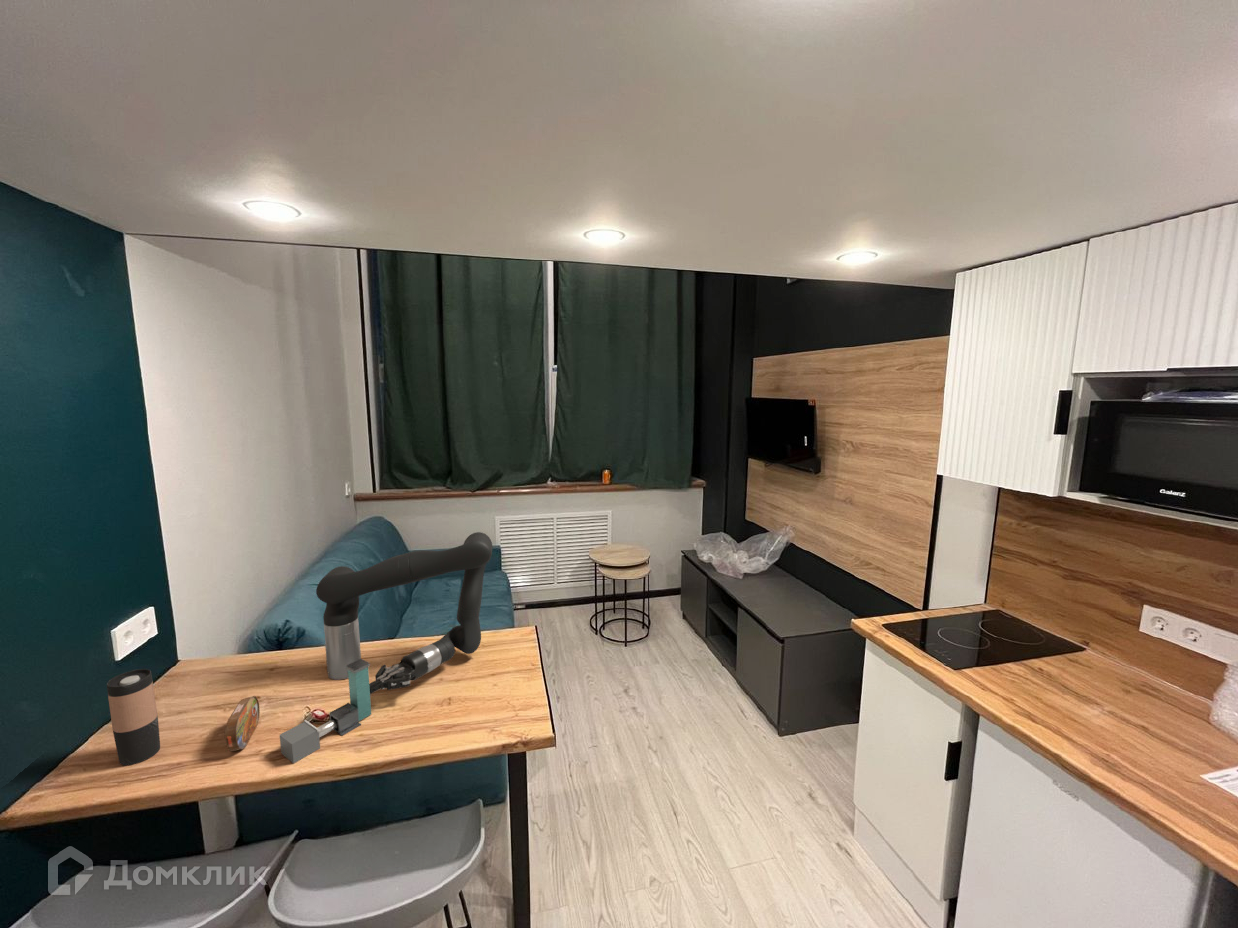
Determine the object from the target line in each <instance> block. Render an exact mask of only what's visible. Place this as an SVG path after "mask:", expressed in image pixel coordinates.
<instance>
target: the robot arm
mask: <svg viewBox="0 0 1238 928" xmlns="http://www.w3.org/2000/svg"><path fill="white" fill-rule="evenodd" d="M492 555H493V542H492V540H491V538H490V536H488V535H487V534H486V533H483V532H481V531H478V532H473V533H471V534H469V535H468V536H467V537H466V538H465V540H464V542H463V544H460V545H459V546H456V547H455V546H454V547H452V548H448V549H445V550H415V551H409V552H406V553H401V554H399V555H398V554H397V555H395V556H392V557H390V558H389V557H388V558H387V559H385V560H382V561H381V562H378V563H376V564H374V565H372V566H369V567H367V568H365V569H361V570H358V571H354V570H353V569H352V568H351V567H348V566H342V565H340V566H337V567H334V568H333V569H331V570H329V572H327V574H326V575H324V576H323V577H322V578H321V580H320V581H319V583H317V586H316V589H315V590H316V591H315V593H316V596H317V598H318V599H319V600H320V601H321V602H323V603H326V605H325V610H324V612H323V617H322V618H323V629H324V641H325V646H324V648H325V659H326V669H327V670H326V671H327V676H328V678H329V679H331V680H338V681H339V680H345V679H349V678H348V670H347V669H346V665H348V664H351V663H353V662H355V661H357V660H359V659H362V657H361V656H362V653H361V641H360V637H361V636H360V625H359V608H360V596H363V595H366V594H369V593H372V592H373V593H374V592H377V591H382V590H386V589H390V588H395V587H398V586H402V585H408V584H411V583H416V582H420V581H422V580H427V579H429V578H434V577H438V576H440V575H444V574H448V573H449V574H450V573H453V572H458V571H464V574H463V579H462V586H461V589H460V593H459V598H458V605H457V612H456V613H457V614H456V621H457V622H458V624H459V625H456V626H454V627H452V628H451V629H450V630H449V631H448V632H447V633H446V634H444V636H442V637H441V638H440V639H439V640H436V641H434V642H432V643H430V644H428V645H424V646H422V647H420V648H418V649H416V650H414V651H413V652H410V653H408V654H406V655H405V656H403V657H402V658H401V660H400V662H399V663H395V664H392V665H391V666H387V664H382V665H381V666H380V668H379V669H378V670H377V672H376V674H375V675H374V677H375V680H374V681H372V682H369V686H370V695H372V694H374V693H375V692H378V691H379V690H385V689H386V690H387V691H392V690H397V689H398V690H399V689H402V688H409V687H410V686H411V682H413V681H416V680H418V679H420V678H421V677H423V676H424V675H427V674H428V673H430V672H432V671H434V670H436V669H437V668H438V667H439V666H441V665H443V664H444V663H446V662H448V661H450V660H452V658H453V657H454V656H455V654H456V653H455V652H456V649H457V650H459V651H461V652H462V653H464V654H467V655H472V654H474V653H475V652H476V651H477V650H478V648H479V647H480V644H481V641H482V631H481V621H480V612H481V606H482V596H483V595H482V594H483V584H484V575H485V569H486V565H487V564H488V563H489V562H490V560H491V558H492Z"/></svg>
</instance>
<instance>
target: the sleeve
mask: <svg viewBox="0 0 1238 928" xmlns="http://www.w3.org/2000/svg"><path fill="white" fill-rule="evenodd" d="M334 718H335V719H337V720H338V727H337V728H336V729H334V730H333V731H334V732H335V733H337V734H338V735H340V736H342V737H343V736H345V735H346V734H349V732H352V731H353V730H355V729H356V728H358V727H360V726H361V725H362V724H361V722H360V721H359V717H358V708H356V707H355V706H353V705H351V704H350V702H347V703H345V704H343V705H342V706H340V707H338V708H336V709H333V710H332V711H330V712H329V721H331V720H332V719H334Z"/></svg>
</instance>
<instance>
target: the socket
mask: <svg viewBox="0 0 1238 928" xmlns="http://www.w3.org/2000/svg"><path fill="white" fill-rule="evenodd" d="M279 743H280V744H279V745H280V754H281V755H282V756H284V757H285V758H286V759H288V760H289V761H290V762H291V764H295V763H297V762H299V761H301V760H303V759H304V758H306V757H307V756H309V755H311V754H313V753H314V752H316V751H318V750H320V749H321V741H320V738H319V729H318V727H316V726H315V725H313V724H312V723H311V722H309V721H308V720H306V719H304V721H303V722H300V724H298V725H296V726H294V727H292V728H290V729H288V730H286V731H284V732H282V733H280V734H279Z"/></svg>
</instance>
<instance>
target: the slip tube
mask: <svg viewBox="0 0 1238 928" xmlns="http://www.w3.org/2000/svg"><path fill="white" fill-rule="evenodd" d="M369 667H371V663H370V662H368V661H366V660H364V659H362V658H361V659H359V660H357V661H355V662H353V663H351V664H348V665H346V669H347V670H348V678H347V679H348V690H349V701H350V702H349V703H350V704H351V705H353V706H355V707H356V708H358V717H359V722H361V721H362V720H364V719H366V718H367V717H369V716H371V715H372V703H371V702H372V701H371V694H370V686H369V684H370V675H369V673H370V672H369ZM337 727H338V720H337V719H335V718H334V719H332V720H331V721H330V720H329V721H327V722H325V723H323V724H321V725H320V726H318V727H317V728H318V729H319V739H320V738H321V737H323V736H325V735H327V734H329V733H330V732H332V731H334V729H336V728H337Z"/></svg>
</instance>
